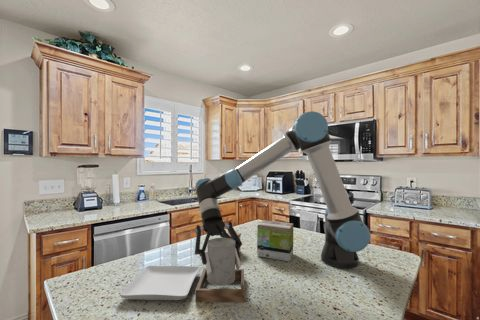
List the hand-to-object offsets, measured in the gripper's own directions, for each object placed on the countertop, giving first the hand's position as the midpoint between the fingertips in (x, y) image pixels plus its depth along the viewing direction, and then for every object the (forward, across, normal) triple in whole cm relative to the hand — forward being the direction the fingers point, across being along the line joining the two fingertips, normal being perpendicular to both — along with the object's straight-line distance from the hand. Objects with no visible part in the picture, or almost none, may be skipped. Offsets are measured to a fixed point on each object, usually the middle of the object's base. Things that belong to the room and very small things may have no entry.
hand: (224, 270), depth 78 cm
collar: (+3, 0, -7) cm, 8 cm away
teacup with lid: (-19, -16, -30) cm, 39 cm away
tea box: (-9, -33, -20) cm, 40 cm away
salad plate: (-3, +18, -14) cm, 23 cm away
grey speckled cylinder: (+1, 0, -5) cm, 5 cm away
